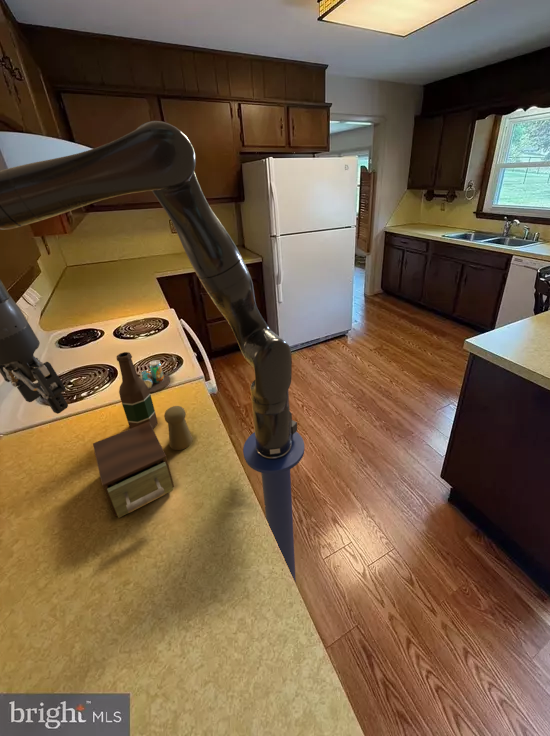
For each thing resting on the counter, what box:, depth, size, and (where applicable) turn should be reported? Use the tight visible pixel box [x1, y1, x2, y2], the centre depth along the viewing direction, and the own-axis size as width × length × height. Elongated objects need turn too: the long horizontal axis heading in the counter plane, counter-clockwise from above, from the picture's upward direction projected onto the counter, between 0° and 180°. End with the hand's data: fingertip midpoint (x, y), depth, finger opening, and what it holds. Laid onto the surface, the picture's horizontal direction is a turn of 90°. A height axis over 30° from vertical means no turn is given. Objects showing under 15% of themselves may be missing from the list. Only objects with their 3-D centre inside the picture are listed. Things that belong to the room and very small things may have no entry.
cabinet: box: [92, 422, 175, 517], centre depth 77 cm, size 15×13×10 cm
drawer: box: [107, 462, 174, 519], centre depth 73 cm, size 18×11×8 cm, turn 36°
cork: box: [163, 405, 194, 451], centre depth 87 cm, size 6×6×11 cm
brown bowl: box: [139, 359, 171, 394], centre depth 114 cm, size 12×12×8 cm
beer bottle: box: [116, 351, 158, 430], centre depth 91 cm, size 8×8×24 cm
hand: (47, 404), depth 61 cm, fingers open, 8 cm apart
